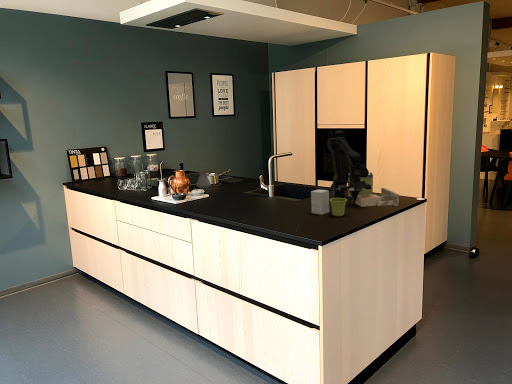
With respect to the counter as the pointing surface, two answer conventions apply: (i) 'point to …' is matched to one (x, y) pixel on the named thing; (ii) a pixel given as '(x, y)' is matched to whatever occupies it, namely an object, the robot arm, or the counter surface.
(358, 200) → the beige rectangular block
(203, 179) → the coffee pot
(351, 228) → the counter surface
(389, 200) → the display nook
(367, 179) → the protein box
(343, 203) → the plant pot
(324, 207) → the supplement box
